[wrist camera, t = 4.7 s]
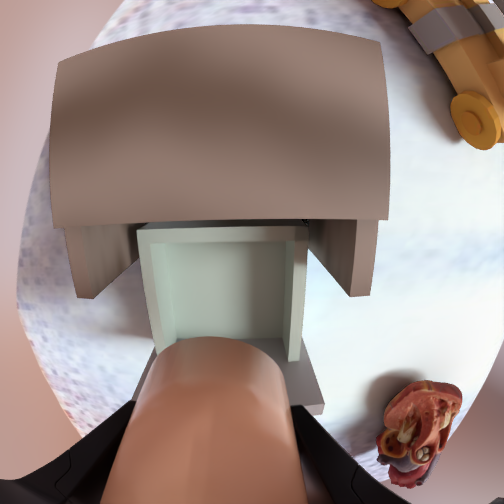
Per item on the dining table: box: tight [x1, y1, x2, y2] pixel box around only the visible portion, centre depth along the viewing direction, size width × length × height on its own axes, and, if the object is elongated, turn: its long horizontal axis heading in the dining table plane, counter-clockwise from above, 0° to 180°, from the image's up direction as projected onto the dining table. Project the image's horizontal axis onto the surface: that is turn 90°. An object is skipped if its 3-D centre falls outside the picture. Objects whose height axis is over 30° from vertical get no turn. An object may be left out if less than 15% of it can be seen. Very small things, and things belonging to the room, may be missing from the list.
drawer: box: [131, 219, 325, 416], centre depth 16 cm, size 10×11×8 cm
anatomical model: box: [376, 380, 462, 489], centre depth 21 cm, size 11×13×15 cm
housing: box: [49, 24, 390, 299], centre depth 13 cm, size 11×14×9 cm
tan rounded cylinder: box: [100, 336, 309, 504], centre depth 6 cm, size 5×5×6 cm
